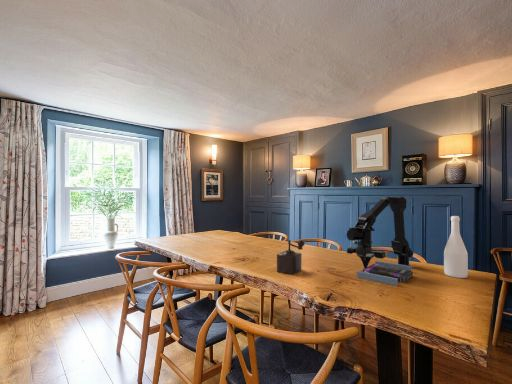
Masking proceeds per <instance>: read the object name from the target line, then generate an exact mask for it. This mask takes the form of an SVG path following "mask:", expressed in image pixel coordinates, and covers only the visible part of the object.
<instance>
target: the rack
mask: <svg viewBox="0 0 512 384" xmlns="http://www.w3.org/2000/svg"><path fill="white" fill-rule="evenodd" d="M374 264H378V265H384V266H389V267H394V268H399V269H404V270H409V271H413V270H412V269H413V268H412V265H411V266H406V265H400V264H398V263H394V262H393V263H392V262H387V261H386V262H385V261H380V260H375V262H374ZM356 278H357V279H362V280H366V281H372V282H375V283H376V282H377V283H380V284H386V285H390V286H391V285H392V286H395V287H398V286H399V282H398V279H397V278H391V277H386V276H381V275H376V274H371V273H366V272H363V271H360V270H357V271H356Z"/></svg>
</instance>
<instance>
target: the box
mask: <svg viewBox="0 0 512 384" xmlns="http://www.w3.org/2000/svg"><path fill="white" fill-rule="evenodd" d="M362 272H366V273H371V274H376V275H381V276H386V277H391V278H397V279H398V283H402V284H404V283H406V282H407V281H409V279H411V278H413V270H412V271H409V270H404V269H399V268H394V267H389V266H384V265H378V264H375V263H372V264H371V265H368V266H367V268H363V269H362Z"/></svg>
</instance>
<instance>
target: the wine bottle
mask: <svg viewBox="0 0 512 384" xmlns="http://www.w3.org/2000/svg"><path fill="white" fill-rule="evenodd" d="M450 221H451V224H450V225H451V226H450V235H449V237H448V240H447V241H446V245H445V246H444V250H443V273H444V274H445V275H446V276H448V277H450V278H456V279H465V278H468V276H469V275H468V274H469V273H468V272H469V269H468V267H469V265H468V264H469V263H468V260H469V258H468V254H469V253H468V251H467V249H466V246H465V243H464V240H463V238H462V236H461V233H460V231H461V229H460V221H461V219H460V216H458V215H452V216H450Z"/></svg>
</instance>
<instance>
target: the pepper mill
mask: <svg viewBox="0 0 512 384" xmlns="http://www.w3.org/2000/svg"><path fill="white" fill-rule="evenodd" d="M296 243H297V245H296V244H292V243H291V240H290V239H289V240H288V243H287V245H288V249H287V250H284V251H282V252H279V253H276V272H277V273H280V274H288V275H296V274H297V275H298V273H300V272H301V271H302V253H301V252H296V251H294V250H292V249H291V246H292V247H293V248H297V249H298V250H300V251H301V250H303V247H304V246H305V240H303V239H299V240H298V241H297V242H296Z"/></svg>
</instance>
